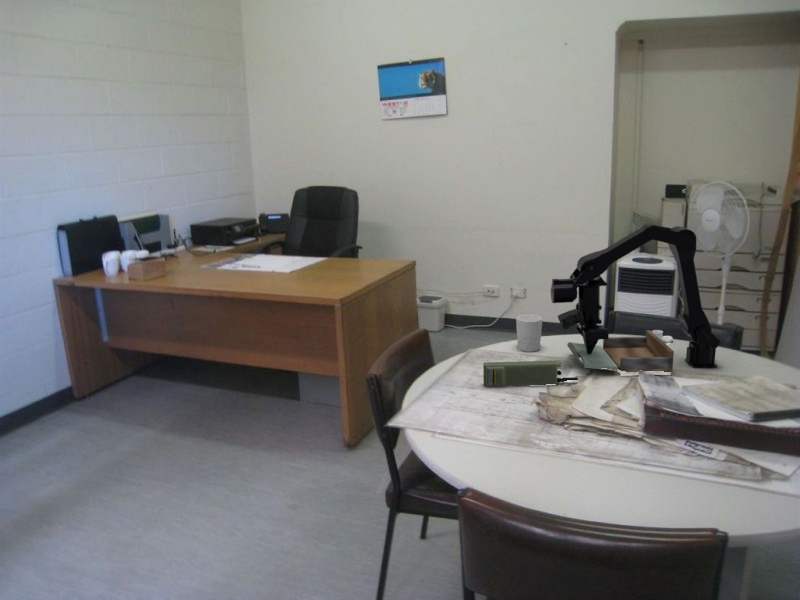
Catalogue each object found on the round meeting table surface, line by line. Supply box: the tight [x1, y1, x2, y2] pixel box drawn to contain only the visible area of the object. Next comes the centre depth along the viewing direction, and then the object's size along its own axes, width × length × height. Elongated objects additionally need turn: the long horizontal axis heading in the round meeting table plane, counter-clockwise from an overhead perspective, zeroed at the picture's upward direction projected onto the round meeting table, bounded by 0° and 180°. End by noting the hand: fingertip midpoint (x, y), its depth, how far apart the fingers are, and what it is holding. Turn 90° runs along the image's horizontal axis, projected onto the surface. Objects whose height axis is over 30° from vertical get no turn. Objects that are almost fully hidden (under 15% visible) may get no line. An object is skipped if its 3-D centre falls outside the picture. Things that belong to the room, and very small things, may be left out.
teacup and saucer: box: [651, 329, 674, 347], centre depth 196 cm, size 9×8×4 cm
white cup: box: [515, 314, 543, 353], centre depth 193 cm, size 8×8×10 cm
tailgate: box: [567, 341, 618, 371], centre depth 179 cm, size 2×18×10 cm
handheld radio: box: [482, 360, 579, 388], centre depth 166 cm, size 7×3×25 cm
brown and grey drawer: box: [602, 329, 675, 373], centre depth 178 cm, size 14×19×7 cm
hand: (589, 353), depth 179 cm, fingers closed, pressing on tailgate
